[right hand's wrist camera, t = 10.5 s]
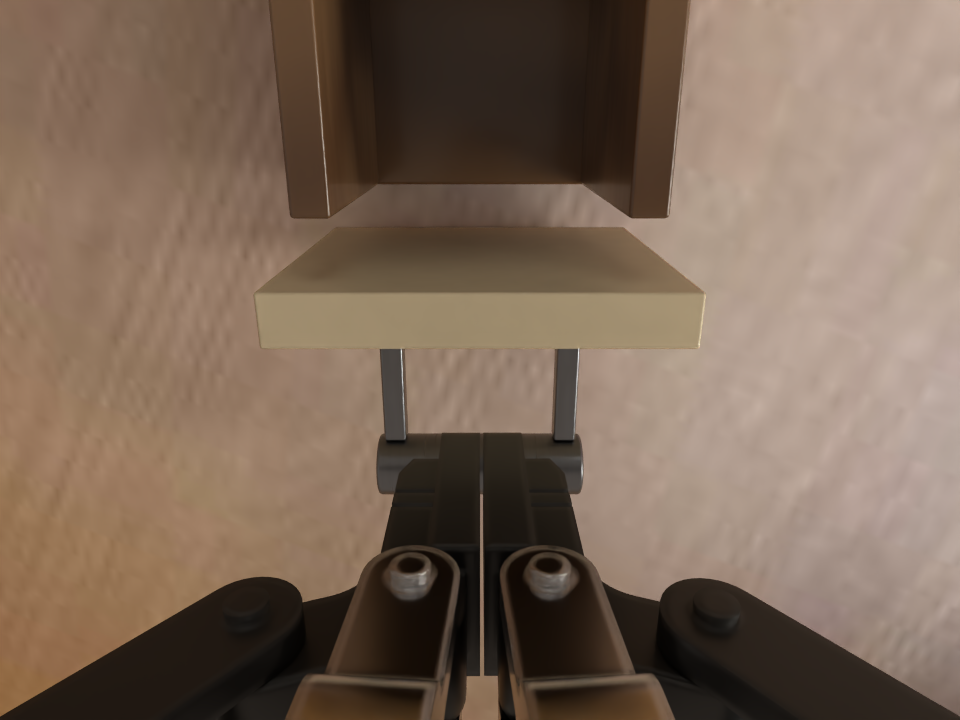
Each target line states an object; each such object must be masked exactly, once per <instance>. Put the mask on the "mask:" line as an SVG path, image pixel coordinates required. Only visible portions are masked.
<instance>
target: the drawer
mask: <svg viewBox="0 0 960 720" xmlns="http://www.w3.org/2000/svg"><path fill="white" fill-rule="evenodd" d="M690 1H691V0H269V10H270V20H271V30H272V40H273V50H274V60H275V70H276V80H277V90H278V100H279V110H280V120H281V130H282V140H283V150H284V160H285V170H286V180H287V190H288V200H289V210H290V216H291V217H292V218H330V217H331V216H333V215H334V214H336V213H337V212H338V211H340V210H341V209H343V208H344V207H346V206H347V205H348V204H350V203H351V202H353V201H354V200H356V199H357V198H358V197H360V196H361V195H363V194H364V193H366V192H367V191H368V190H370V189H371V188H373V187H374V186H376V185H377V184H583V185H584V186H586V187H587V188H589V189H590V190H591V191H593V192H594V193H596V194H597V195H599V196H600V197H601V198H603V199H604V200H606V201H607V202H609V203H610V204H611V205H613V206H614V207H616V208H617V209H619V210H620V211H622V212H623V213H624V214H626V215H627V216H629V217H630V218H667V217H668V216H669V214H670V204H671V194H672V183H673V173H674V163H675V153H676V143H677V133H678V123H679V113H680V102H681V92H682V82H683V72H684V62H685V52H686V42H687V32H688V21H689V11H690ZM705 299H706V294H705V292H704V291H702V290H701V289H700V288H699V287H697V286H696V285H695V284H694V283H692V282H691V281H690V280H689V279H687V278H686V277H685V276H684V275H682V274H681V273H680V272H679V271H677V270H676V269H675V268H674V267H672V266H671V265H670V264H669V263H667V262H666V261H665V260H664V259H662V258H661V257H660V256H659V255H657V254H656V253H655V252H654V251H652V250H651V249H650V248H649V247H647V246H646V245H645V244H644V243H642V242H641V241H640V240H639V239H637V238H636V237H635V236H634V235H632V234H631V233H630V232H629V231H627V230H626V229H625V228H623V227H588V228H335V229H334V230H332V231H331V232H330V233H329V234H327V235H326V236H325V237H324V238H322V239H321V240H320V241H319V242H317V243H316V244H315V245H314V246H312V247H311V248H310V249H309V250H307V251H306V252H305V253H304V254H302V255H301V256H300V257H299V258H297V259H296V260H295V261H294V262H292V263H291V264H290V265H289V266H287V267H286V268H285V269H284V270H282V271H281V272H280V273H279V274H277V275H276V276H275V277H274V278H272V279H271V280H270V281H269V282H267V283H266V284H265V285H264V286H262V287H261V288H260V289H259V290H257V291H256V292H255V293H254V303H255V311H256V319H257V327H258V335H259V343H260V348H262V349H380V360H381V378H382V395H383V413H384V431H385V434H382V435H381V436H380V439H379V443H378V449H377V464H376V472H377V485H378V489H379V492H380V493H381V494H394V493H395V488H396V484H397V479H398V475H399V472H400V471H401V470H403V469H404V468H405V467H406V466H407V465H408V464H409V463H410V462H411V461H412V460H413V459H439V452H440V444H441V436H442V434H407V433H408V418H407V394H406V371H405V349H555V364H554V388H553V412H552V434H522V440H523V448H524V456H525V459H551V460H552V461H553V462H554V463H555V464H556V465H557V466H558V467H559V468H560V469H561V470H562V471H563V472H564V473H565V477H566V481H567V485H568V492H569V494H579V493H580V492H581V489H582V484H583V451H582V444H581V439H580V437H579V435H578V434H575V426H576V408H577V390H578V372H579V354H580V349H698V348H699V347H700V339H701V331H702V323H703V315H704V307H705ZM480 494H483V434H480Z"/></svg>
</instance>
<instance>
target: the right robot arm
mask: <svg viewBox="0 0 960 720" xmlns="http://www.w3.org/2000/svg"><path fill="white" fill-rule="evenodd" d="M483 572H484V676H498V720H960V716H958V715H956V714H954V713H953V712H951V711H949V710H948V709H946V708H944V707H942V706H941V705H939V704H937V703H936V702H934V701H932V700H930V699H929V698H927V697H925V696H924V695H922V694H920V693H918V692H917V691H915V690H913V689H912V688H910V687H908V686H906V685H905V684H903V683H901V682H900V681H898V680H896V679H895V678H893V677H891V676H889V675H888V674H886V673H884V672H883V671H881V670H879V669H877V668H876V667H874V666H872V665H871V664H869V663H867V662H865V661H864V660H862V659H860V658H859V657H857V656H855V655H853V654H852V653H850V652H848V651H847V650H845V649H843V648H841V647H840V646H838V645H836V644H835V643H833V642H831V641H829V640H828V639H826V638H824V637H823V636H821V635H819V634H817V633H816V632H814V631H812V630H811V629H809V628H807V627H806V626H804V625H802V624H800V623H799V622H797V621H795V620H794V619H792V618H790V617H788V616H787V615H785V614H783V613H782V612H780V611H778V610H776V609H775V608H773V607H771V606H770V605H768V604H766V603H764V602H763V601H761V600H759V599H758V598H756V597H754V596H752V595H751V594H749V593H747V592H746V591H744V590H742V589H740V588H738V587H736V586H733V585H731V584H728V583H725V582H722V581H718V580H712V579H704V578H694V579H686V580H682V581H679V582H676V583H674V584H672V585H671V586H669V587H668V588H667V589H666V590H665V591H664V593H663V594H662V597H661V599H660V602H659V601H654V600H650V599H646V598H641V597H637V596H633V595H629V594H626V593H623V592H621V591H618V590H616V589H614V588H612V587H610V586H608V585H607V584H605V583H604V582H602V581H601V579H600V576H599V574H598V571H597V570H596V568H595V566H594V565H593V564H592V563H591V562H590V561H589V560H588V559H587V558H586V557H584V553H583V549H582V545H581V541H580V536H579V532H578V528H577V524H576V519H575V515H574V511H573V507H572V502H571V498H570V494H569V492H568V485H567V481H566V477H565V473H564V472H563V471H562V470H561V469H560V468H559V467H558V466H557V465H556V464H555V463H554V462H553V461H552V460H551V459H525V456H524V448H523V440H522V434H521V433H483ZM467 676H480V433H442V436H441V444H440V452H439V459H413V460H412V461H411V462H410V463H409V464H408V465H407V466H406V467H405V468H404V469H403V470H401V471H400V472H399V475H398V479H397V484H396V488H395V493H394V497H393V502H392V507H391V510H390V515H389V519H388V524H387V528H386V533H385V537H384V541H383V546H382V550H381V554H379V555H377V556H376V557H374V558H373V559H372V560H371V561H370V562H369V563H368V564H367V565H366V566H365V568H364V570H363V571H362V574H361V576H360V579H359V582H358V584H357V586H355V587H353V588H351V589H349V590H347V591H345V592H342V593H340V594H336V595H333V596H329V597H325V598H320V599H316V600H312V601H307V602H303V603H302V597H301V594H300V592H299V591H298V589H297V588H296V587H295V586H294V585H292V584H291V583H289V582H287V581H285V580H282V579H279V578H273V577H253V578H248V579H243V580H239V581H236V582H233V583H231V584H228V585H226V586H224V587H222V588H220V589H218V590H216V591H214V592H213V593H211V594H209V595H208V596H206V597H204V598H202V599H201V600H199V601H197V602H196V603H194V604H192V605H190V606H189V607H187V608H185V609H184V610H182V611H180V612H178V613H177V614H175V615H173V616H172V617H170V618H168V619H166V620H165V621H163V622H161V623H160V624H158V625H156V626H154V627H153V628H151V629H149V630H148V631H146V632H144V633H143V634H141V635H139V636H137V637H136V638H134V639H132V640H131V641H129V642H127V643H125V644H124V645H122V646H120V647H119V648H117V649H115V650H113V651H112V652H110V653H108V654H107V655H105V656H103V657H101V658H100V659H98V660H96V661H95V662H93V663H91V664H89V665H88V666H86V667H84V668H83V669H81V670H79V671H77V672H76V673H74V674H72V675H71V676H69V677H67V678H66V679H64V680H62V681H60V682H59V683H57V684H55V685H54V686H52V687H50V688H48V689H47V690H45V691H43V692H42V693H40V694H38V695H36V696H35V697H33V698H31V699H30V700H28V701H26V702H24V703H23V704H21V705H19V706H18V707H16V708H14V709H12V710H11V711H9V712H7V713H6V714H4V715H2V716H0V720H462V709H463V707H464V704H465V700H466V679H467Z"/></svg>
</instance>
